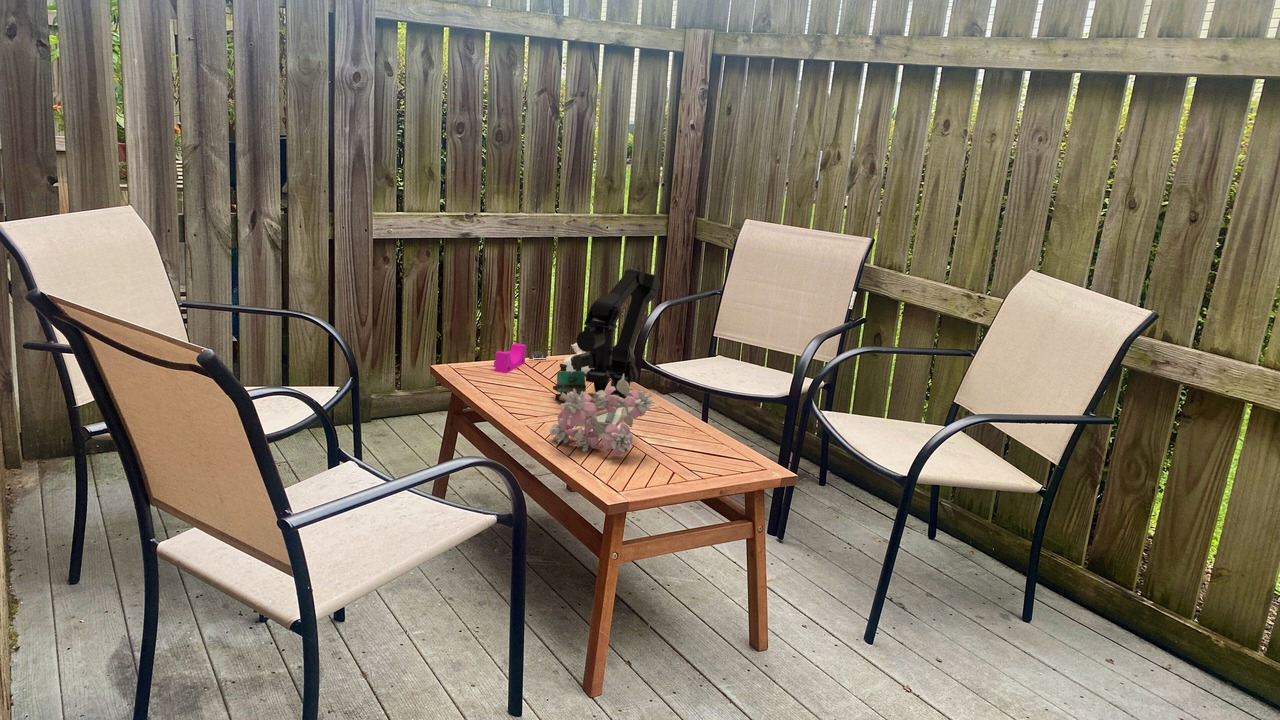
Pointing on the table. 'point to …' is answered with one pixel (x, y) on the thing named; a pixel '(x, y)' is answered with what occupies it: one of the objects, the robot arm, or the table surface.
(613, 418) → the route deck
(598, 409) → the walnut block
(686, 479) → the table surface
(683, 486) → the table surface
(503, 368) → the toy block
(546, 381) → the table surface
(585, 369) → the white tied sack
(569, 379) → the binoculars
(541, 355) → the car cutout
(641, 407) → the flower
